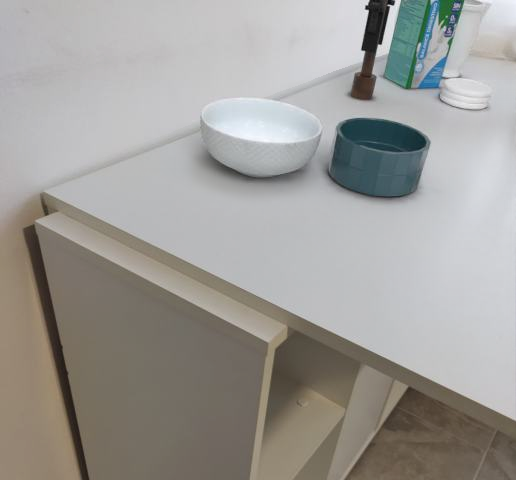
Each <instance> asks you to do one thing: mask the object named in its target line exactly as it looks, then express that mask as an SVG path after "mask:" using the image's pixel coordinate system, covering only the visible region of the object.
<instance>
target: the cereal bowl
mask: <svg viewBox="0 0 516 480" xmlns="http://www.w3.org/2000/svg"><path fill="white" fill-rule="evenodd" d="M199 118H200V119H199V122H200V127H199V128H200V135H201V138H202V142H203V144H204V146H205V148H206V150H207V151H208V152H209V154H210V155H211V156H212V157H213V158H214V159H215V160H216V161H218V162H220V164H222V165H224V166H226V167H228V168H230V169H233V170H234V171H235V172H237V173H239V174H241V175H244V176H248V177H253V178H263V179H264V178H265V179H266V178H273V177H277V176H279V175H284V174H288V173H289V174H290V173H292V172H295V171H297V170H299V169H301V168H302V167H304V166H305V165H307V164H308V163H309V162H310V161H311V160H312V159H313V157H314V156H315V154H316V152H317V150H318V148H319V145H320V142H321V139H322V134H323V124H322V123H321V121H320V120H319V119H318V118H317V116H315V115H314V114H313V113H311V112H309V111H308V110H305V109H303V108H302V107H299V106H296V105H293V104H290V103H287V102H283V101H279V100H274V99H269V98H261V97H230V98H224V99H218V100H215V101H213V102H210V103H209V104H207V105H205V106H204V107H203V108H202V110H201V111H200V115H199Z"/></svg>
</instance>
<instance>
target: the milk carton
mask: <svg viewBox="0 0 516 480" xmlns="http://www.w3.org/2000/svg"><path fill="white" fill-rule="evenodd" d="M464 1H465V0H400V4H399V7H398V11H397V16H396V19H395V25H394V29H393V34H392V38H391V42H390V45H389V46H390V47H389V50H388V54H387V59H386V64H385V68H384V72H383V78H386V79H388V80H389V81H391V82H393V83H395V84H397V85H398V86H400V87H402V88H404V89H406V90H408V89H411V90H412V89H413V90H414V89H433V88H435V89H436V88H439V87H440V85H441V81H442V78H443V77H442V75H443V71H444V68H445V65H446V61H447V58H448V54H449V51H450V48H451V44H452V41H453V38H454V34H455V31H456V28H457V24H458V21H459V18H460V14H461V11H462V8H463V4H464Z"/></svg>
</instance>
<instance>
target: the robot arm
mask: <svg viewBox="0 0 516 480" xmlns="http://www.w3.org/2000/svg"><path fill="white" fill-rule="evenodd" d="M385 2H386V0H369V1H368V4H365V6H364V10H365V11H368V13H367V18H366V23H365V28H364V33H363V37H362V42H361V47H360V51H361V52H365V51H367V52H372V53H375V52H376V48H377V49H378V47H377V44H378V46H382V45H383V42H384V37H385V33H386V27H387V23H388V18H389V14H390V10H391V7H392V6H393V7H394V6H395V4H396V0H388V1H387V6H386V11H385V15H384V12H383V10H384V8H385V7H384V6H385ZM383 16H384V20H383ZM382 20H383V24H382ZM381 25H382V29H381ZM380 30H381V34H380ZM379 34H380V38H379ZM378 39H379V43H378ZM376 53H377V52H376Z"/></svg>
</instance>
